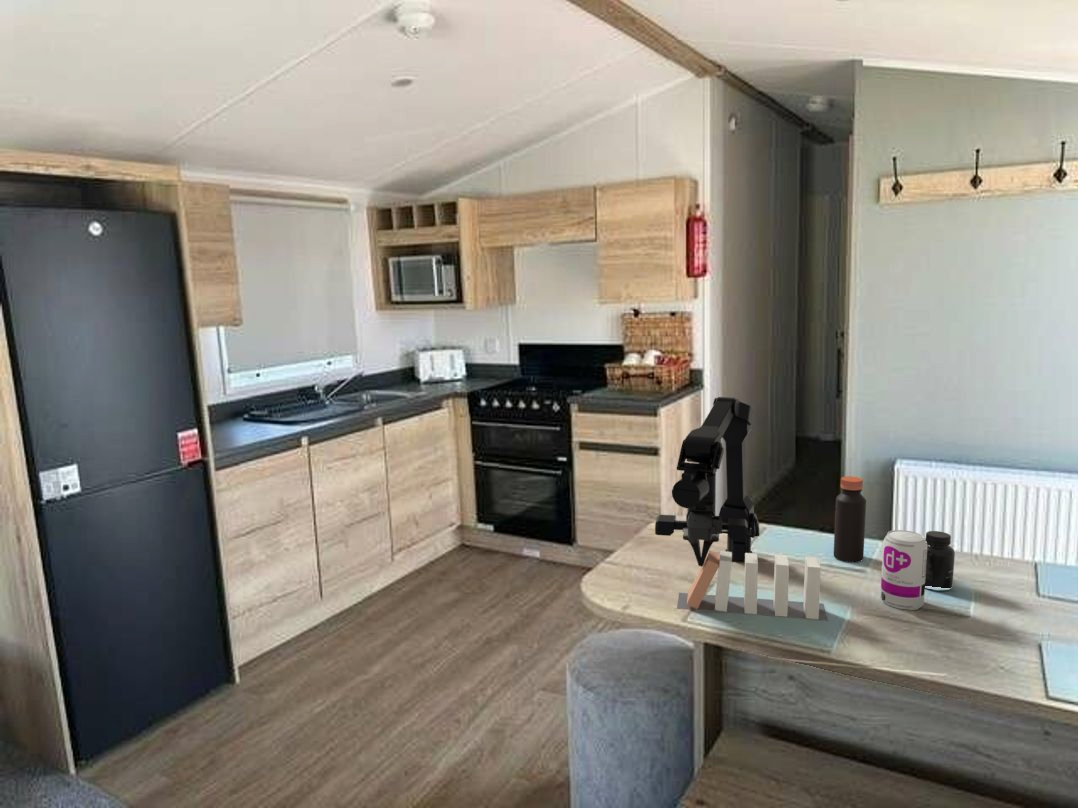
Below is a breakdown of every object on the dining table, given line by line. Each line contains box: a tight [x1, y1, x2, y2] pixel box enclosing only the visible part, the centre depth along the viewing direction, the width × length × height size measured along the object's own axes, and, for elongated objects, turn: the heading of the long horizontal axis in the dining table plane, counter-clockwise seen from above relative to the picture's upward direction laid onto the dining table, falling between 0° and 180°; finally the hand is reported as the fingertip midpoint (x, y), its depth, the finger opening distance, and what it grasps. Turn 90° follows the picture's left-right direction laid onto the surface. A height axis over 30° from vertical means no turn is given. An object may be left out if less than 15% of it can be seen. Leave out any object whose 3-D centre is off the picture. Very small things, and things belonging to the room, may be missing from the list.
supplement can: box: [879, 529, 927, 611], centre depth 156 cm, size 8×8×15 cm
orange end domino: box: [687, 550, 720, 609], centre depth 158 cm, size 2×6×11 cm, turn 166°
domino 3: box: [773, 554, 790, 618], centre depth 154 cm, size 2×6×11 cm, turn 166°
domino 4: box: [803, 556, 822, 620], centre depth 153 cm, size 2×6×11 cm, turn 166°
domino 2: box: [743, 552, 759, 615], centre depth 156 cm, size 2×6×11 cm, turn 166°
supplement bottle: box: [924, 530, 956, 589], centre depth 165 cm, size 7×7×12 cm
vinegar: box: [833, 475, 867, 563], centre depth 181 cm, size 7×7×20 cm
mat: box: [676, 592, 829, 622], centre depth 157 cm, size 8×30×1 cm, turn 76°
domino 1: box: [715, 550, 733, 613], centre depth 157 cm, size 2×6×11 cm, turn 166°
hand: (700, 565), depth 158 cm, fingers closed
